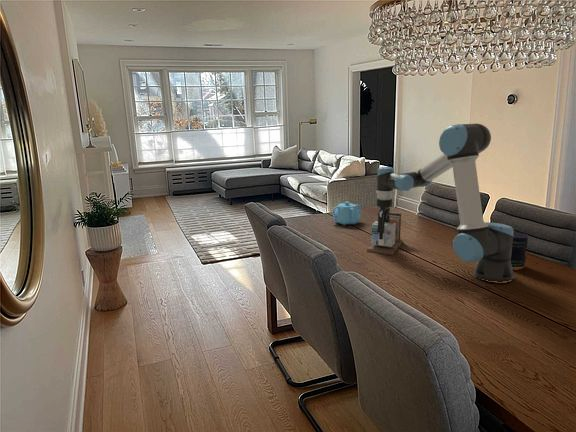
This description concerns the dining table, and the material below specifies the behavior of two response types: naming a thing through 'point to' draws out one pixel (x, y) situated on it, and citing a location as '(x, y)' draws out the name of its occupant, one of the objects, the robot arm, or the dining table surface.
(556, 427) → the dining table surface
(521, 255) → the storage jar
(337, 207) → the decorative pot
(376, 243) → the light bulb box
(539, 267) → the dining table surface
